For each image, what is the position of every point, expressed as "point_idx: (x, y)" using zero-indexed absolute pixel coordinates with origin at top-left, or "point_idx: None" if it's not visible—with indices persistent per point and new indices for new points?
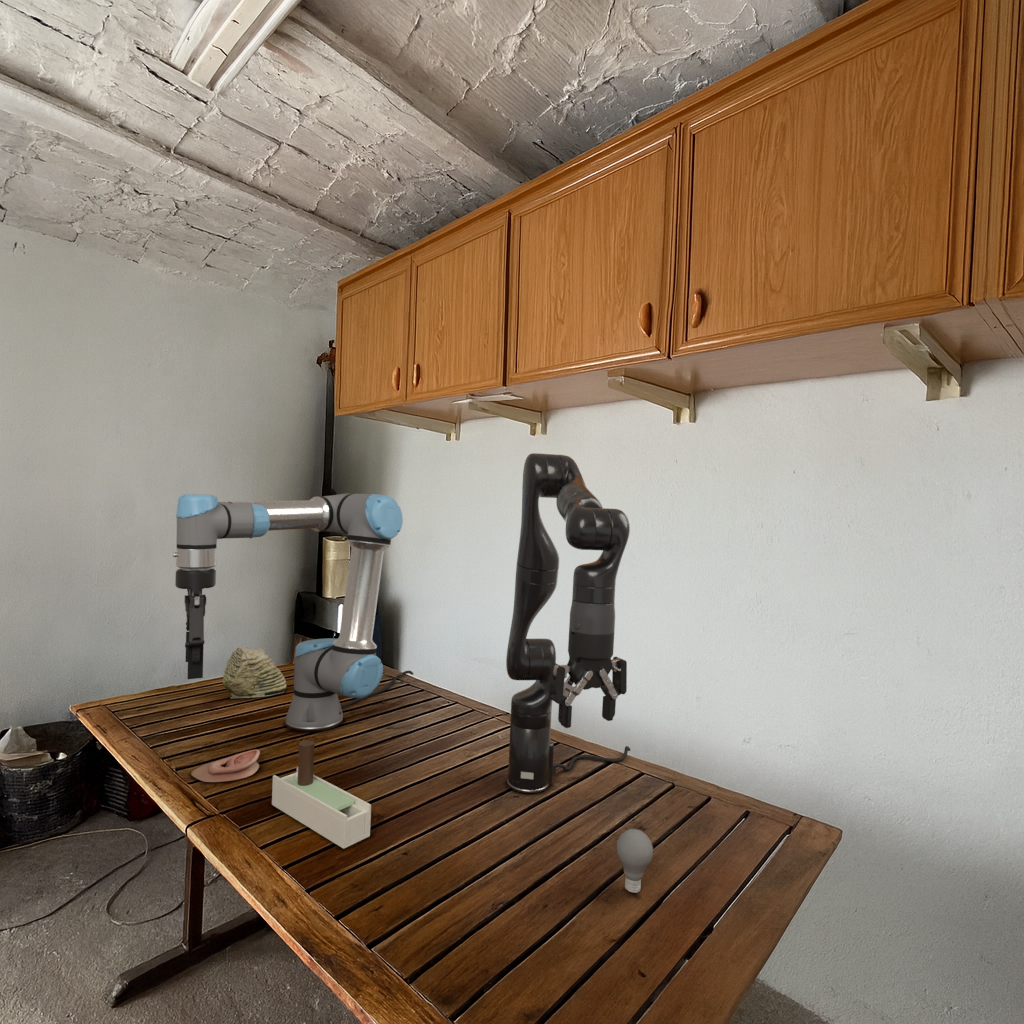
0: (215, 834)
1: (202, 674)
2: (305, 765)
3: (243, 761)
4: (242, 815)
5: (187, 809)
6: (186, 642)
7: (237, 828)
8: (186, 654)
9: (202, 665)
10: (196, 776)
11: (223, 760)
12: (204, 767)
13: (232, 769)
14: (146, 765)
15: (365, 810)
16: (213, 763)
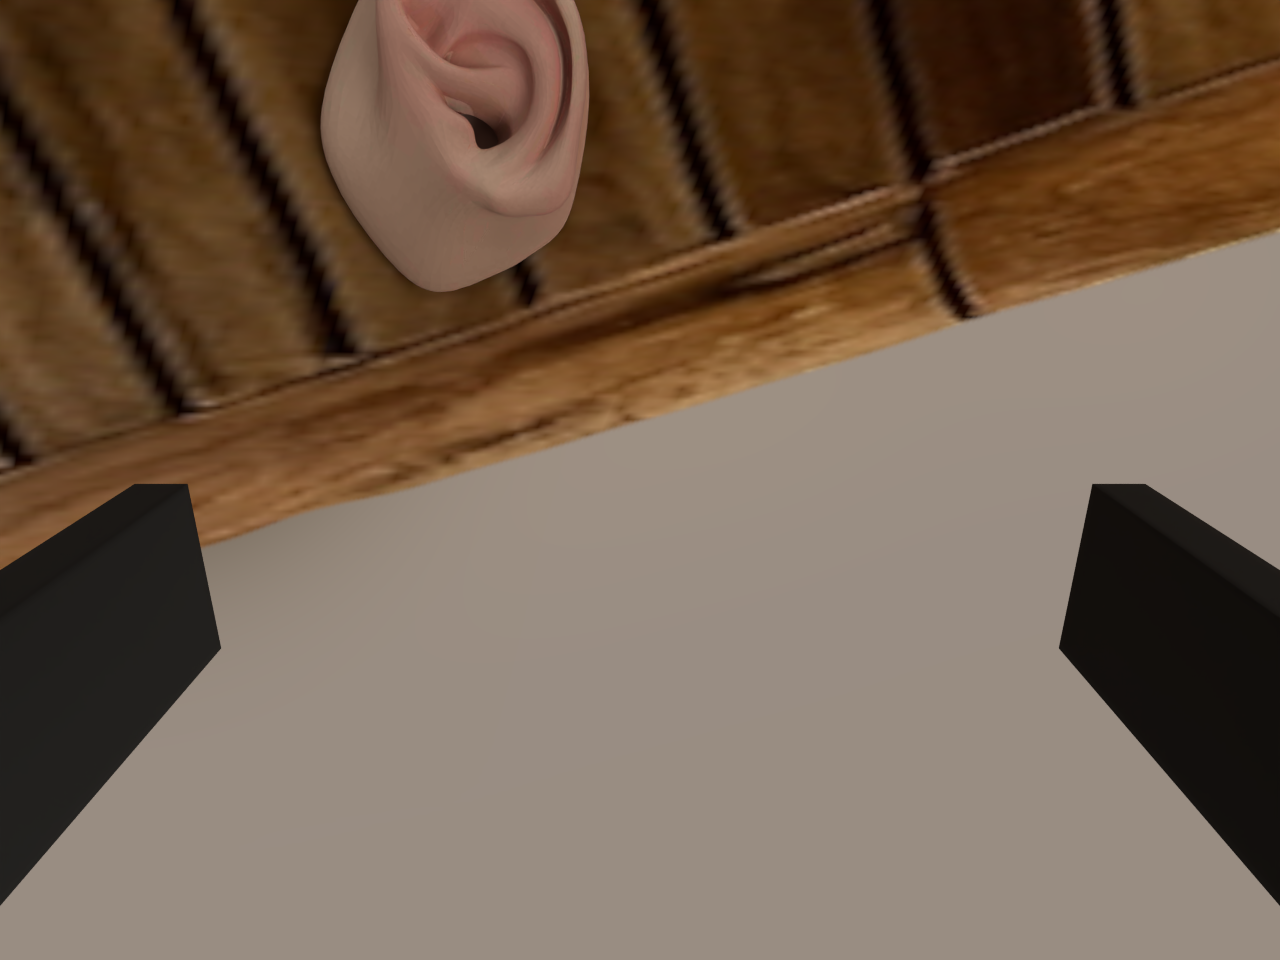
0: (1107, 216)
1: (1175, 506)
2: None
3: (496, 10)
4: (997, 81)
5: (811, 317)
6: (29, 862)
7: (1110, 117)
8: (161, 706)
9: (1261, 570)
10: (496, 269)
11: (447, 128)
12: (457, 232)
13: (585, 88)
14: (255, 478)
15: None
16: (490, 189)
